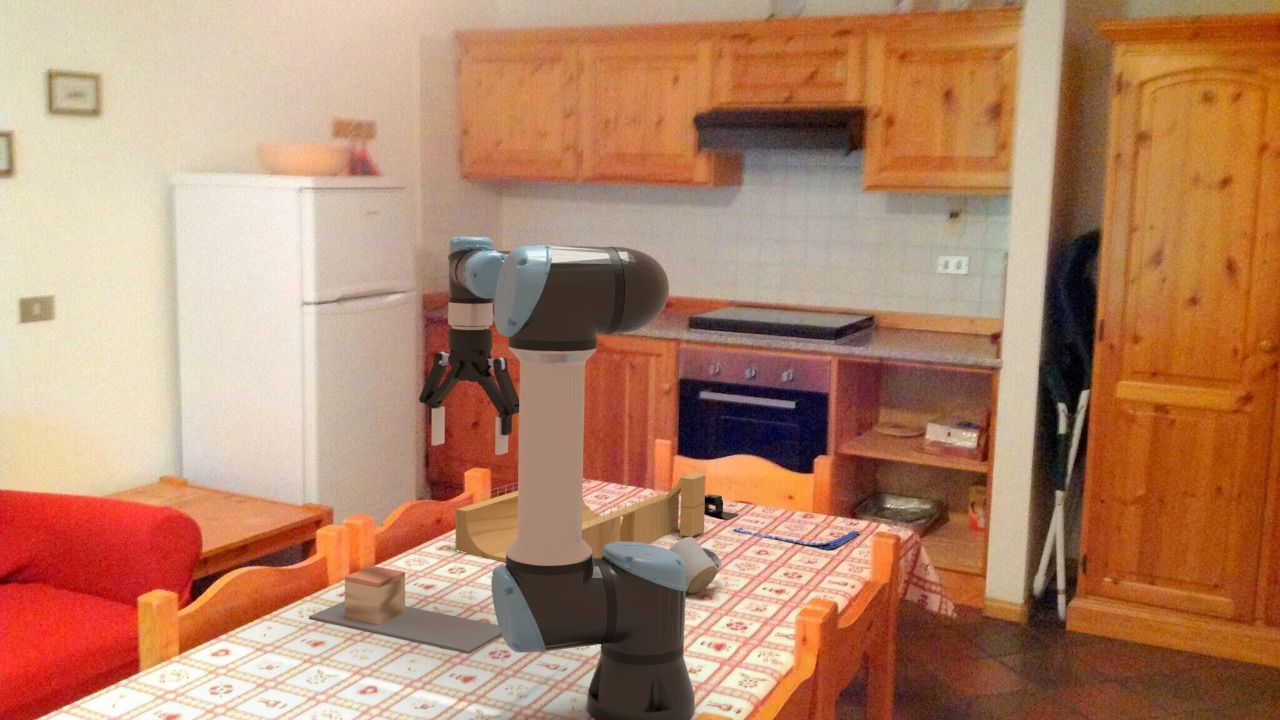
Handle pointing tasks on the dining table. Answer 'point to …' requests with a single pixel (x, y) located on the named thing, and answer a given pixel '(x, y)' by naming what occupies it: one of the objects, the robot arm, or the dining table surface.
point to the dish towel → (825, 545)
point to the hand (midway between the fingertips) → (469, 448)
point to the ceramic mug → (697, 564)
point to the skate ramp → (586, 520)
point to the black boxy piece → (717, 508)
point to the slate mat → (421, 627)
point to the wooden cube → (374, 594)
